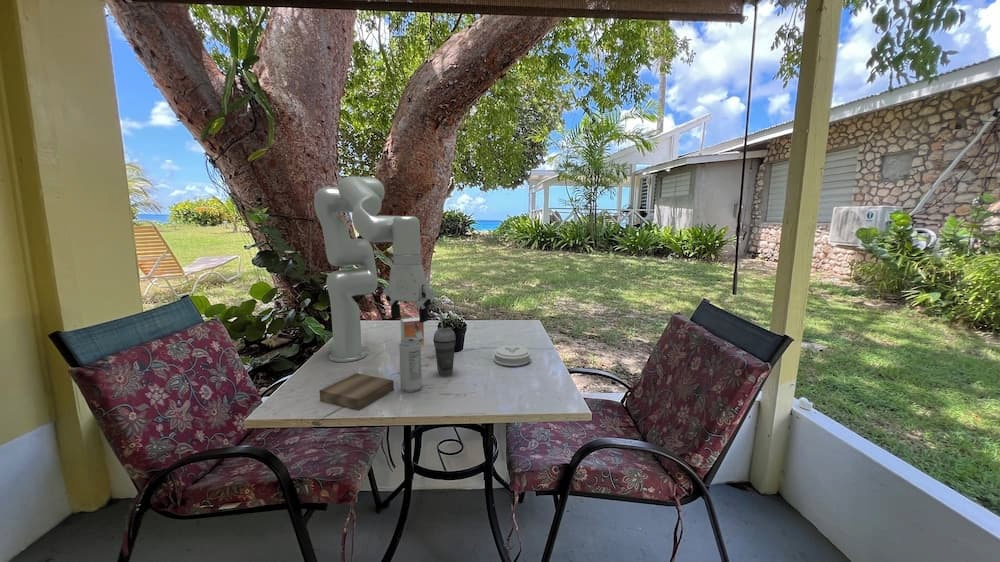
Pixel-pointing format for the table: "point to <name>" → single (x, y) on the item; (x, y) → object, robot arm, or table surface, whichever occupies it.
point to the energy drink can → (410, 364)
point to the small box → (412, 329)
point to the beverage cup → (444, 349)
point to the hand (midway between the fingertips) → (409, 320)
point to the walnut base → (357, 391)
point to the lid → (512, 355)
